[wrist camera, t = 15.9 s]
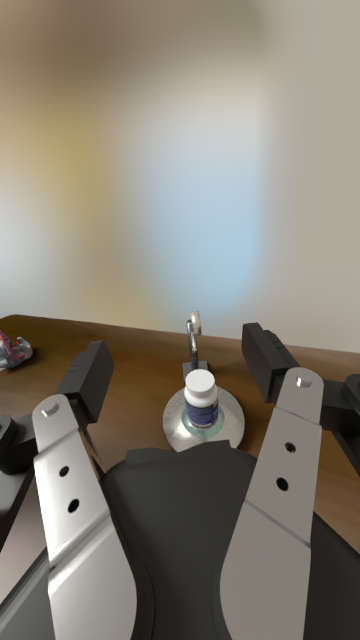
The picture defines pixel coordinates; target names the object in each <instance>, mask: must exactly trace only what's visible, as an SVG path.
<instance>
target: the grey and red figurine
mask: <svg viewBox="0 0 360 640" xmlns="http://www.w3.org/2000/svg"><path fill="white" fill-rule="evenodd" d="M0 338H1V340H2V341H1V342H0V368H13V367H15V366H17V365H19V364H20V363H21V362H23V361H25V360H27V359H29V358H30V357H32V354H33V351H32V349H31V345H30V344H29V343H28V342H27V341H25V340H24V339H23V338H21V337H19V338H17V340H18V342H17V343H15V344H12V342H11V340H10V339H9V337H7V336H6V335H5V334H4V333H3V332H2V331H1V330H0ZM6 340H7V341H6Z"/></svg>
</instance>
